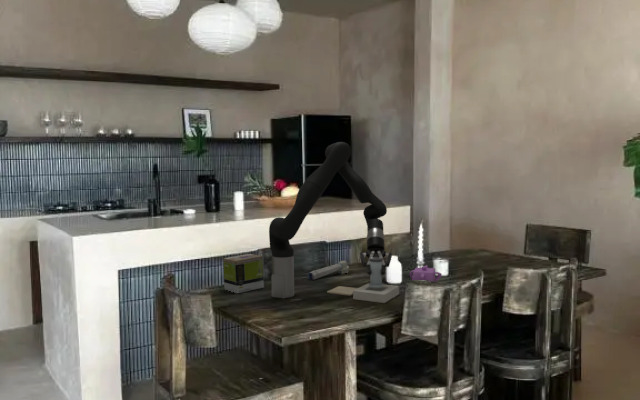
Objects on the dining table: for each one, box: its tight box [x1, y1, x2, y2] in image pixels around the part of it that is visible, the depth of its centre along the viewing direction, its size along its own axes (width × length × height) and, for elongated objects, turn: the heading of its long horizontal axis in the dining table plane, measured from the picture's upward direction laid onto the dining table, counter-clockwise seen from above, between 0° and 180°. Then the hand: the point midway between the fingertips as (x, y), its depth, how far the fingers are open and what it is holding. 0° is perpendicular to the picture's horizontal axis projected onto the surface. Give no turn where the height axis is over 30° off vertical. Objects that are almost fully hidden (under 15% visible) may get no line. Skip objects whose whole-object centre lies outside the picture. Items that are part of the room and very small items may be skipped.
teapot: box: [409, 264, 443, 282], centre depth 266 cm, size 18×14×10 cm
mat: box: [326, 285, 359, 297], centre depth 264 cm, size 11×11×1 cm
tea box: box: [222, 253, 265, 294], centre depth 269 cm, size 15×10×15 cm, turn 131°
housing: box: [352, 282, 400, 304], centre depth 254 cm, size 16×14×4 cm
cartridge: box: [368, 257, 384, 288], centre depth 253 cm, size 6×6×12 cm
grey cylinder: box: [307, 260, 350, 281], centre depth 294 cm, size 5×7×25 cm
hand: (376, 274), depth 251 cm, fingers closed on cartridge, 4 cm apart
